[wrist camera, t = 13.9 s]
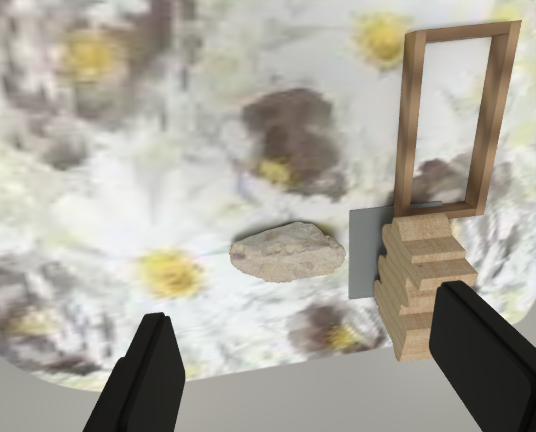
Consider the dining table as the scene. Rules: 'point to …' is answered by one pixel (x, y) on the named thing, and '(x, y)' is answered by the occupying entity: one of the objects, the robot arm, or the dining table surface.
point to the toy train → (416, 278)
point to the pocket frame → (487, 123)
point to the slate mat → (369, 246)
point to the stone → (287, 253)
